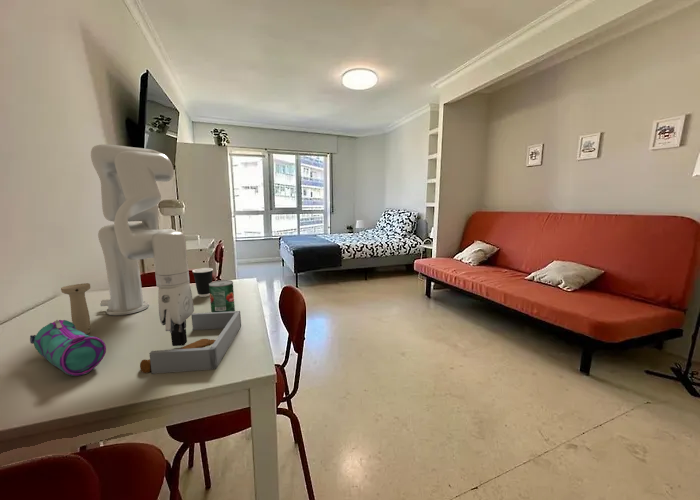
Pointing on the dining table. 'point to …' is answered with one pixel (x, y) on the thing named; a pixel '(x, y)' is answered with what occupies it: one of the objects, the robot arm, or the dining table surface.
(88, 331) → the handle
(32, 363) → the dining table surface
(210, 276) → the dixie cup
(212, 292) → the canned tomato
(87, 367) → the pencil case
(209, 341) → the primitive tool
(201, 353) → the box
